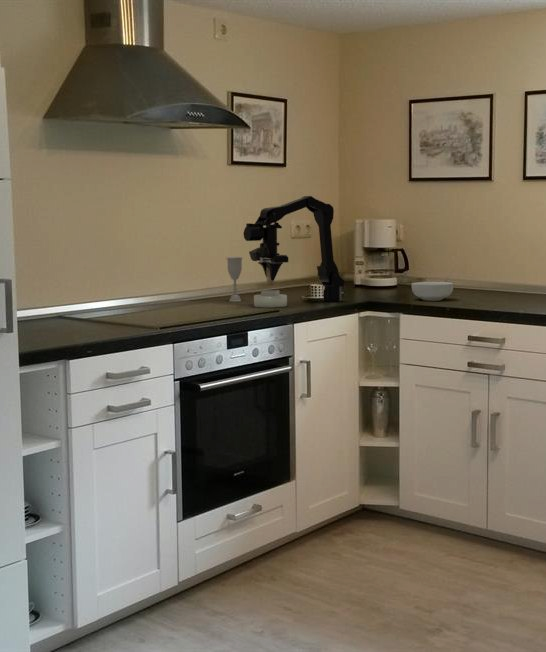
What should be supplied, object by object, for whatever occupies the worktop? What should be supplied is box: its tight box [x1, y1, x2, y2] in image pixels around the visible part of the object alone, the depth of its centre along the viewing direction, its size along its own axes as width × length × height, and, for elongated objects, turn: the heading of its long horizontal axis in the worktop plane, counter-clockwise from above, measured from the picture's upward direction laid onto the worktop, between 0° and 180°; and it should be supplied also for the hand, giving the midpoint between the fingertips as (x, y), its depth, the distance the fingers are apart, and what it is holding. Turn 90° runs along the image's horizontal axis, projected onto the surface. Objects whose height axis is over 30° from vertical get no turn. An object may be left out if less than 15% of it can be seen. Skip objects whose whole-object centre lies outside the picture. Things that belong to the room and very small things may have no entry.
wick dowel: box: [265, 266, 275, 286], centre depth 376 cm, size 3×3×8 cm
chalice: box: [226, 256, 244, 302], centre depth 398 cm, size 7×7×18 cm
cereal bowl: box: [411, 281, 454, 302], centre depth 394 cm, size 17×17×7 cm
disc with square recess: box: [253, 289, 288, 308], centre depth 378 cm, size 13×13×6 cm
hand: (270, 280), depth 377 cm, fingers closed on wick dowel, 3 cm apart
